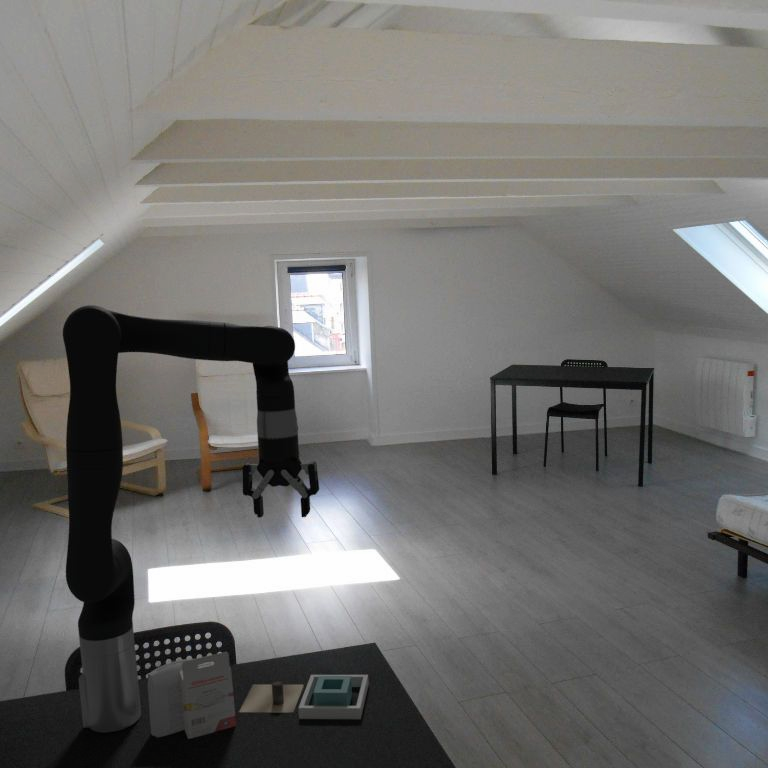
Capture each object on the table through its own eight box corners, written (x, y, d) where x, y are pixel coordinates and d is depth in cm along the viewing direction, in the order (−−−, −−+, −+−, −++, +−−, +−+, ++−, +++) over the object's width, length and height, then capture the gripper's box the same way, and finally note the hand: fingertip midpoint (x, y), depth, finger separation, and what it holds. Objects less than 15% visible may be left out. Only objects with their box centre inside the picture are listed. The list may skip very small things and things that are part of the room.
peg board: (239, 717, 145) (237, 693, 144) (253, 689, 155) (251, 667, 154) (293, 717, 144) (291, 694, 143) (304, 689, 154) (302, 667, 153)
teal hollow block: (314, 713, 143) (313, 692, 143) (322, 690, 151) (320, 670, 151) (347, 713, 143) (346, 692, 142) (353, 691, 151) (352, 670, 150)
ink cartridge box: (230, 717, 145) (224, 640, 143) (237, 731, 140) (230, 651, 138) (182, 730, 141) (175, 651, 139) (187, 744, 137) (180, 663, 135)
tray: (299, 723, 142) (298, 708, 141) (311, 689, 153) (311, 674, 153) (361, 724, 140) (360, 708, 140) (368, 689, 152) (368, 674, 152)
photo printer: (205, 714, 146) (200, 650, 144) (213, 724, 142) (207, 659, 141) (148, 732, 141) (142, 665, 139) (154, 743, 137) (148, 675, 136)
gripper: (235, 437, 147) (240, 522, 149) (311, 435, 146) (315, 522, 148) (246, 429, 155) (251, 511, 157) (318, 428, 153) (323, 510, 155)
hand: (282, 516), depth 152 cm, fingers open, 8 cm apart
